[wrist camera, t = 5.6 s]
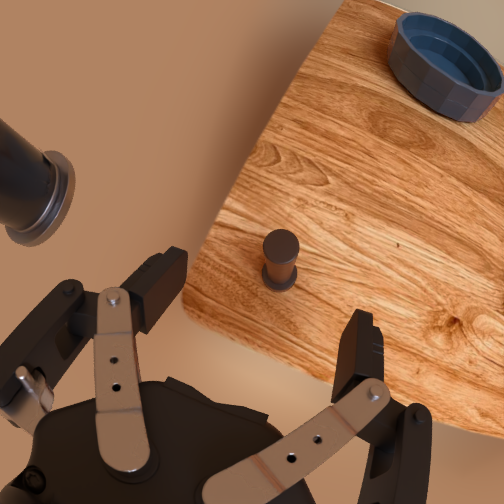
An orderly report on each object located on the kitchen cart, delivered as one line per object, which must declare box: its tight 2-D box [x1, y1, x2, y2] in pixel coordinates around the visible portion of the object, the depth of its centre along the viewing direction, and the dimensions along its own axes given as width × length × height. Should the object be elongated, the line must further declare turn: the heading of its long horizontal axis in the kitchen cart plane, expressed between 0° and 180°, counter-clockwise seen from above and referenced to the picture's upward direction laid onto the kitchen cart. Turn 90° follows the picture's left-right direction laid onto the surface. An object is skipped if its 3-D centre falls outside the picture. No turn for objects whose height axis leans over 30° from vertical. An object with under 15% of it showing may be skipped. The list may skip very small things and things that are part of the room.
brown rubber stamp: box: [262, 229, 299, 292], centre depth 17 cm, size 2×2×9 cm
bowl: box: [387, 12, 504, 122], centre depth 23 cm, size 14×14×6 cm
